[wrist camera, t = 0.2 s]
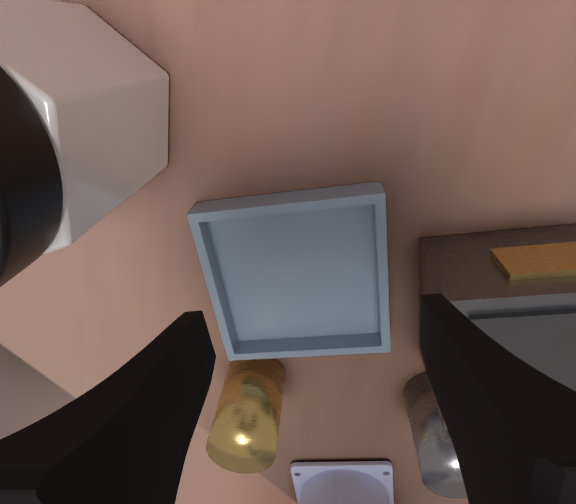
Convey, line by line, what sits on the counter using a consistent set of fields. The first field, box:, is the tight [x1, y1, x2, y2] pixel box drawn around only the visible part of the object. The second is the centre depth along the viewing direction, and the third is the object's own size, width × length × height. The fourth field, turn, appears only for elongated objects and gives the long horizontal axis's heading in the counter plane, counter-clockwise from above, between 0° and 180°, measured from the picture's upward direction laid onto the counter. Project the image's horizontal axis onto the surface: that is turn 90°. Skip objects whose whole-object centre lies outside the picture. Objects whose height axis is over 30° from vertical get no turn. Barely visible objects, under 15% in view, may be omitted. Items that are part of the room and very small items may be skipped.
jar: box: [0, 0, 169, 287], centre depth 15 cm, size 9×8×12 cm
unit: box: [419, 224, 576, 429], centre depth 20 cm, size 9×10×6 cm
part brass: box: [206, 358, 285, 473], centre depth 25 cm, size 4×4×6 cm
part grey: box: [404, 372, 467, 498], centre depth 25 cm, size 4×4×6 cm
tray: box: [187, 181, 391, 361], centre depth 23 cm, size 10×10×2 cm
